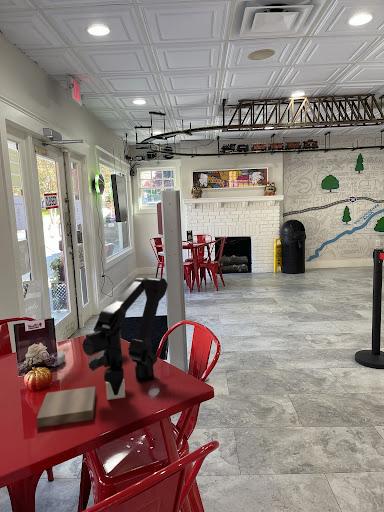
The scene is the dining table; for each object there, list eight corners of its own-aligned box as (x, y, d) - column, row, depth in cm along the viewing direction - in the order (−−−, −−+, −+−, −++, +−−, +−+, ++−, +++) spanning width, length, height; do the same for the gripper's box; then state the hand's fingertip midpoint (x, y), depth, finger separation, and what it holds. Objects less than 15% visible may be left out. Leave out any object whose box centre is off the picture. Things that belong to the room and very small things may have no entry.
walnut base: (95, 394, 126) (95, 386, 125) (92, 419, 110) (92, 410, 110) (47, 401, 123) (46, 392, 122) (37, 427, 107) (36, 418, 107)
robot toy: (25, 375, 146) (63, 368, 149) (23, 365, 146) (61, 358, 148) (33, 363, 159) (68, 357, 161) (31, 353, 158) (66, 347, 160)
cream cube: (124, 389, 129) (123, 373, 128) (125, 397, 123) (123, 380, 122) (107, 391, 128) (106, 375, 127) (107, 400, 122) (105, 383, 121)
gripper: (90, 339, 131) (93, 380, 133) (86, 359, 113) (90, 405, 114) (121, 336, 133) (124, 376, 135) (122, 354, 115) (125, 400, 117)
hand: (115, 388), depth 125 cm, fingers open, 9 cm apart
